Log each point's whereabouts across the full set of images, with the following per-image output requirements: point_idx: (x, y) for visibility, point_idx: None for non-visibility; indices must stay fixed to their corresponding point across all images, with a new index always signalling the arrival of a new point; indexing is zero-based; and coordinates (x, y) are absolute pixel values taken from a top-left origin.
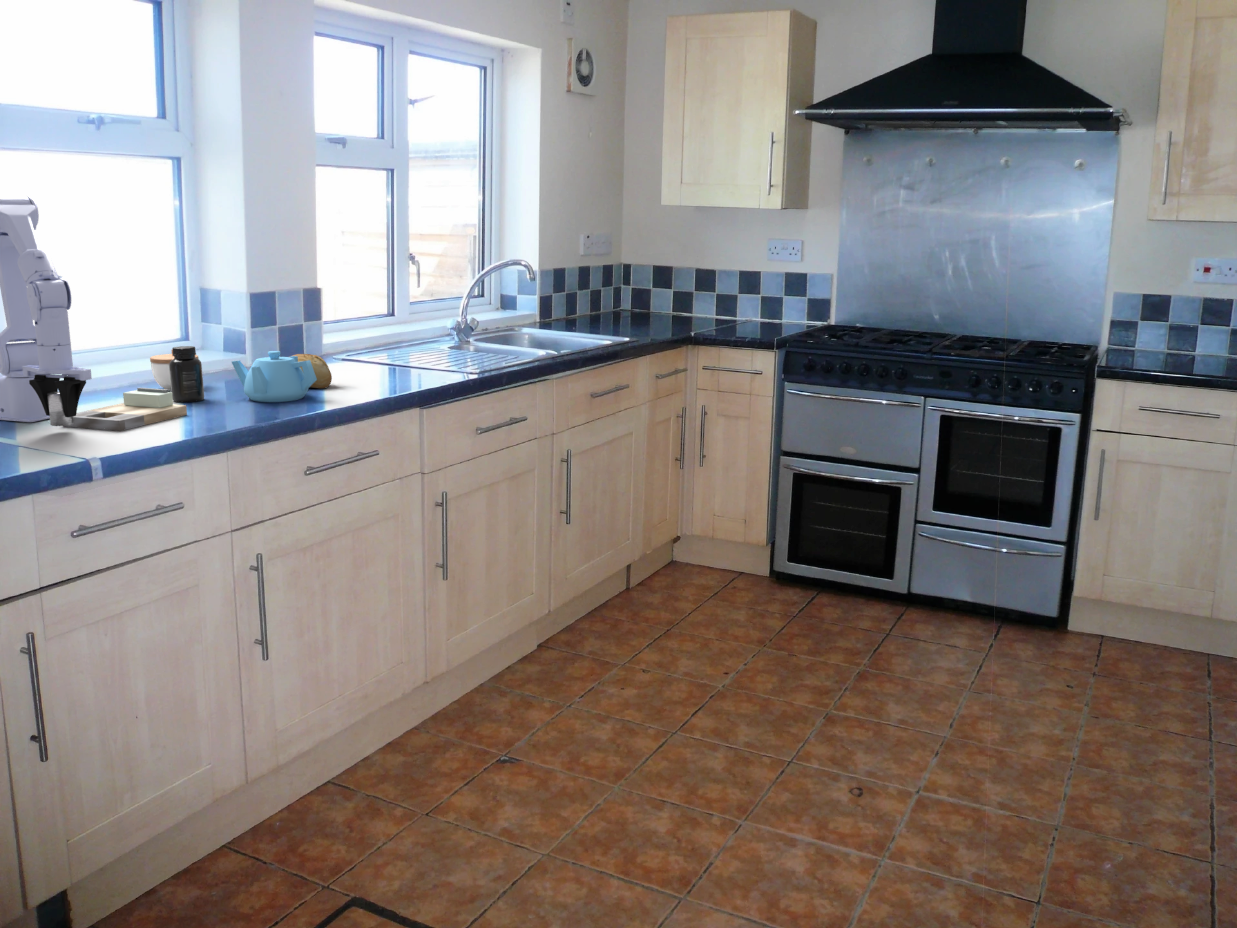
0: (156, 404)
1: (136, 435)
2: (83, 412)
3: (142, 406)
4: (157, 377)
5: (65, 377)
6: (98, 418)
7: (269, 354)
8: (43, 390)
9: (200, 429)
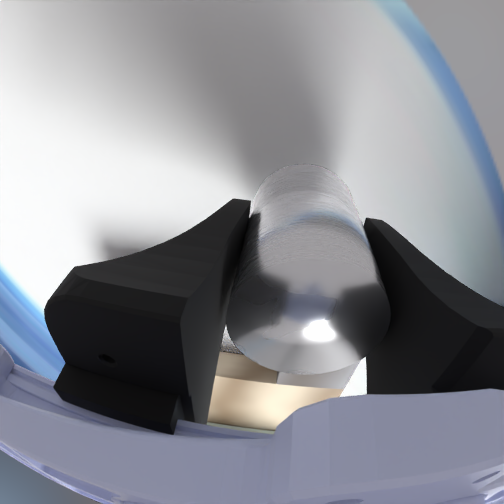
0: None
1: (37, 215)
2: (340, 372)
3: (228, 425)
4: None
5: (146, 416)
6: None
7: None
8: (419, 309)
9: (11, 302)
